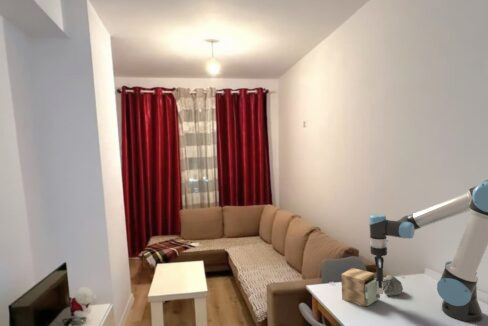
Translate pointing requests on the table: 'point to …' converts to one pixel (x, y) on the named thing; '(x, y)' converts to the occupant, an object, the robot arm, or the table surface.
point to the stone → (392, 286)
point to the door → (371, 292)
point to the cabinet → (355, 285)
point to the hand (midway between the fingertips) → (380, 293)
